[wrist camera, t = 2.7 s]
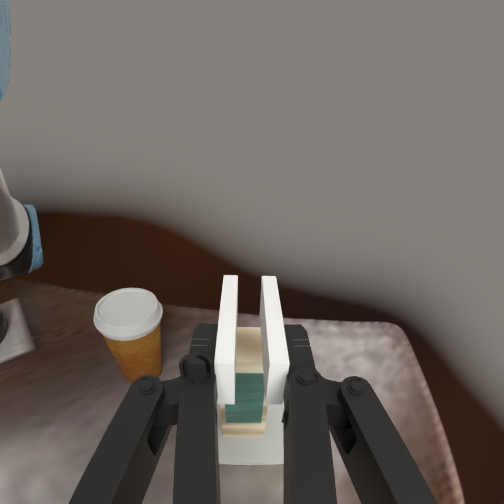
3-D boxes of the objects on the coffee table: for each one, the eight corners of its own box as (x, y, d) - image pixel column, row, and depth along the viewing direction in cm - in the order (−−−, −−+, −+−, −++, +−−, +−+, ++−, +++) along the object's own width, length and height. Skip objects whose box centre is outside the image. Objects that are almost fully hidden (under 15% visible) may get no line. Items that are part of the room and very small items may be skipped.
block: (263, 437, 33) (273, 362, 27) (222, 436, 33) (217, 361, 26) (262, 405, 37) (269, 327, 31) (224, 405, 37) (220, 326, 31)
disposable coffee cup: (147, 340, 48) (135, 278, 43) (185, 369, 43) (176, 305, 38) (101, 366, 41) (80, 304, 36) (135, 403, 36) (113, 340, 31)
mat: (300, 463, 30) (300, 461, 29) (180, 461, 29) (179, 459, 29) (282, 335, 51) (283, 333, 51) (199, 333, 51) (199, 332, 50)
